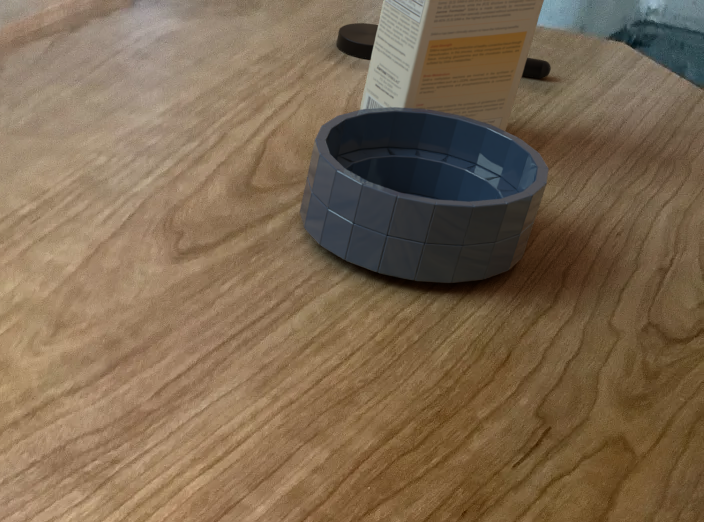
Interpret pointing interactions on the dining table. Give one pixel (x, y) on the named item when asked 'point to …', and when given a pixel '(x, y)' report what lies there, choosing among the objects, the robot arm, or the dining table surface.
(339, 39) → the dark round paddle
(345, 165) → the bowl
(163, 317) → the dining table surface
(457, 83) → the supplement box
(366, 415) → the dining table surface
